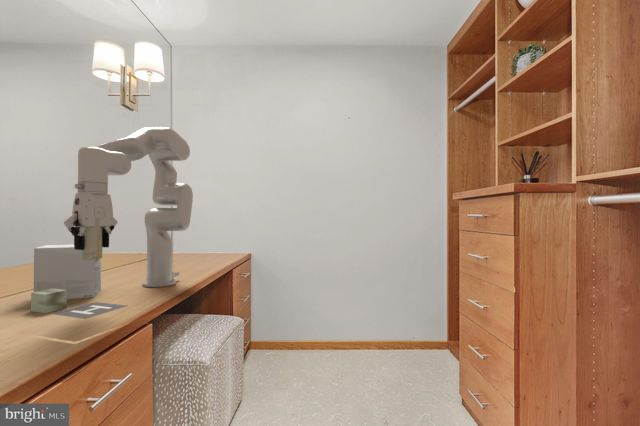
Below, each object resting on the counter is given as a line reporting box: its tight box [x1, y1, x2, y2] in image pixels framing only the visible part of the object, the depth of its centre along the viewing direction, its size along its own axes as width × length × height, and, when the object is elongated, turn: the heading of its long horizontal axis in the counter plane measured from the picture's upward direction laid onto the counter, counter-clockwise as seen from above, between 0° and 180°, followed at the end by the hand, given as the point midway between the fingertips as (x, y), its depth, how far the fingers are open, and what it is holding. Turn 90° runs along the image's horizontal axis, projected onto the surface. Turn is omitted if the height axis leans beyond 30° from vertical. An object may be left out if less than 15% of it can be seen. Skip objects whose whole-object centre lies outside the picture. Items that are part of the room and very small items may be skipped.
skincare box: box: [82, 219, 103, 260], centre depth 103 cm, size 6×4×12 cm
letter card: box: [52, 301, 127, 320], centre depth 103 cm, size 14×13×1 cm
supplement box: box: [33, 243, 102, 300], centre depth 121 cm, size 17×13×18 cm
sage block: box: [30, 289, 68, 314], centre depth 103 cm, size 6×6×6 cm
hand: (92, 247), depth 103 cm, fingers closed on skincare box, 7 cm apart
